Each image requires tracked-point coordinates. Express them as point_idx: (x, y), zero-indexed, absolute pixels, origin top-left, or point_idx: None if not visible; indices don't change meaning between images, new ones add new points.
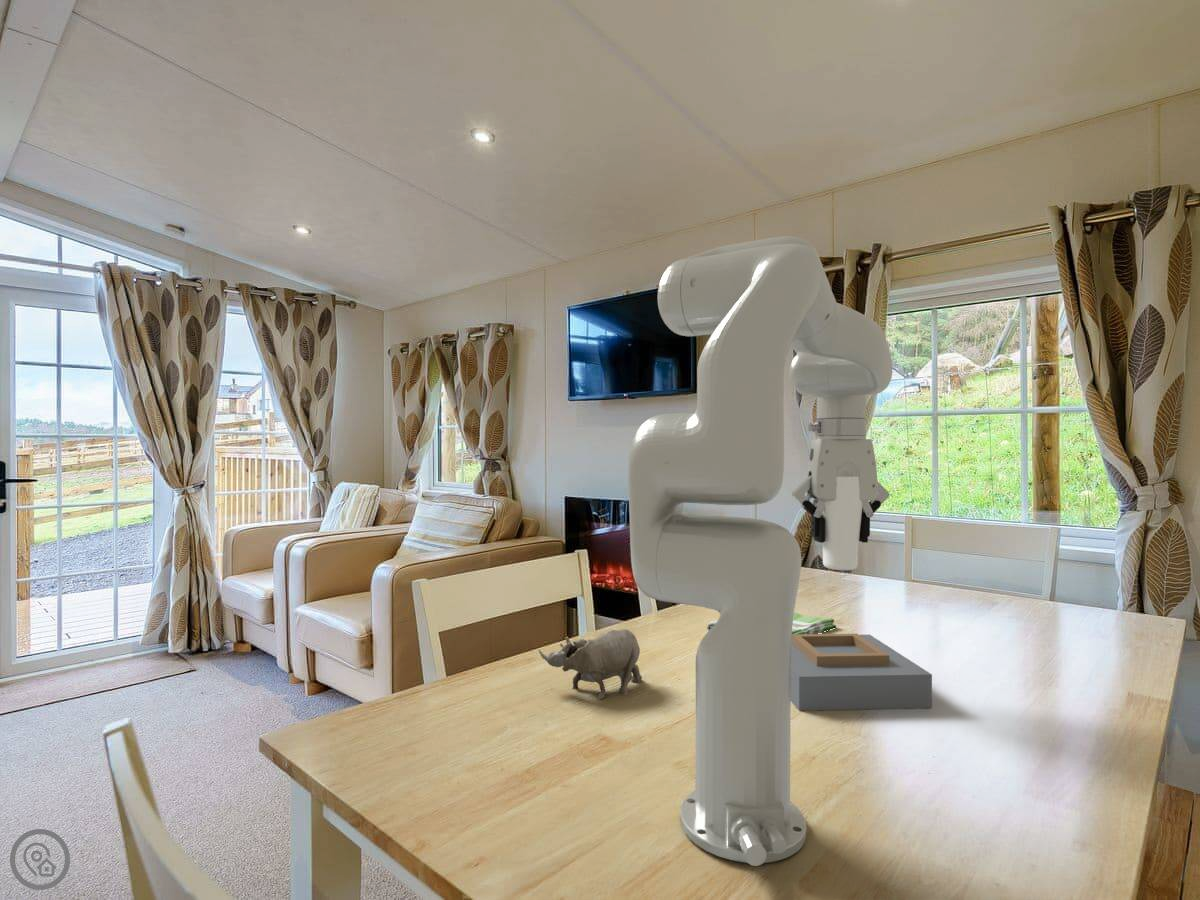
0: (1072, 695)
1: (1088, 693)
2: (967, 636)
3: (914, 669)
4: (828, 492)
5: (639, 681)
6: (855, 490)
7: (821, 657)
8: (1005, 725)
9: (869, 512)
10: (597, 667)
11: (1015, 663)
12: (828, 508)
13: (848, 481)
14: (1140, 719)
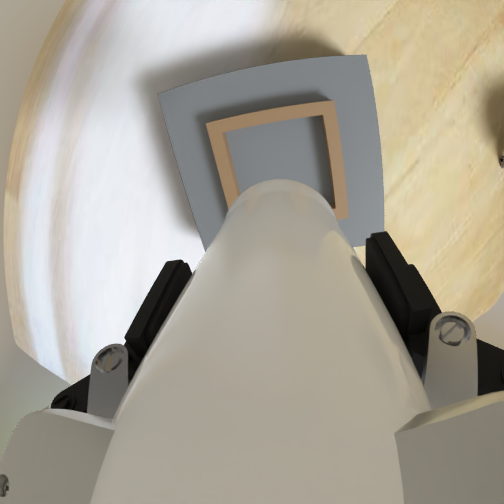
0: (45, 179)
1: (36, 188)
2: (110, 328)
3: (176, 109)
4: (498, 472)
5: (502, 157)
6: None
7: (325, 101)
8: (113, 69)
9: (108, 368)
10: None
11: (75, 259)
12: (411, 365)
13: None
14: (20, 136)
